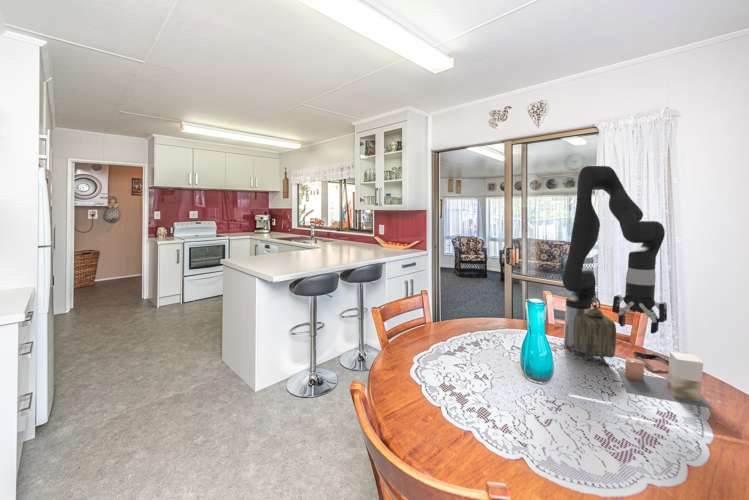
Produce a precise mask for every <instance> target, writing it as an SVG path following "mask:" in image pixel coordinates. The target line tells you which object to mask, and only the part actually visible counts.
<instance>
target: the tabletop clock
mask: <svg viewBox="0 0 749 500" xmlns="http://www.w3.org/2000/svg"><path fill="white" fill-rule="evenodd" d="M593 299H594V300H596V302H597V303H598V304H594V300H593ZM591 307H592V308H591V309H590V310H589V311H588V313H580V314H578V315H576V316H575V319H574V343H575V345H576V346H577V347H578V348H579V349H578V350H579V351H580V352H582V353H583V354H585V355H586V356H584V357H583V360H585V361H589V357H599V358H600V360H601V361H602V362H603V363H604V364H603V366H604V367H605V368H609V367H610V364H609V363H608V362H606V360H605V358H614V357H615V355H616V347H617V326H616V323H615V321H614V320H613V319H611V318H610V317H609V316H607V315H605V314H603V311H602V310H600V309H601V302H600V299H599V298H597V297H596V296H594V297H593V298H592V299H591Z"/></svg>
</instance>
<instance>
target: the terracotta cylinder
mask: <svg viewBox="0 0 749 500" xmlns="http://www.w3.org/2000/svg"><path fill="white" fill-rule="evenodd" d="M645 363H646V362H645ZM645 363H644V362H643V361H641V360H638V359H637V358H635V357H627V358H626V359H625V368H624V372H625V377H626V378H627V379H629V380H632V381H636V382H642V381H643V379H644V375H645Z"/></svg>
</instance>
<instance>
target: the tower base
mask: <svg viewBox="0 0 749 500" xmlns="http://www.w3.org/2000/svg"><path fill="white" fill-rule="evenodd" d="M667 371H668V372H667V373H668V374H667V379H668V383H667V388H668V389H669V391H670V392H671V394H672V395H673V397H678V398H683V399H689V400H694V401H700V393H701V392H702V382H697V381H690V380H684V379H678V378H675V377H674V376H673V375H672V374H671V372H670V371H669V369H667ZM701 394H702V393H701Z"/></svg>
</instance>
